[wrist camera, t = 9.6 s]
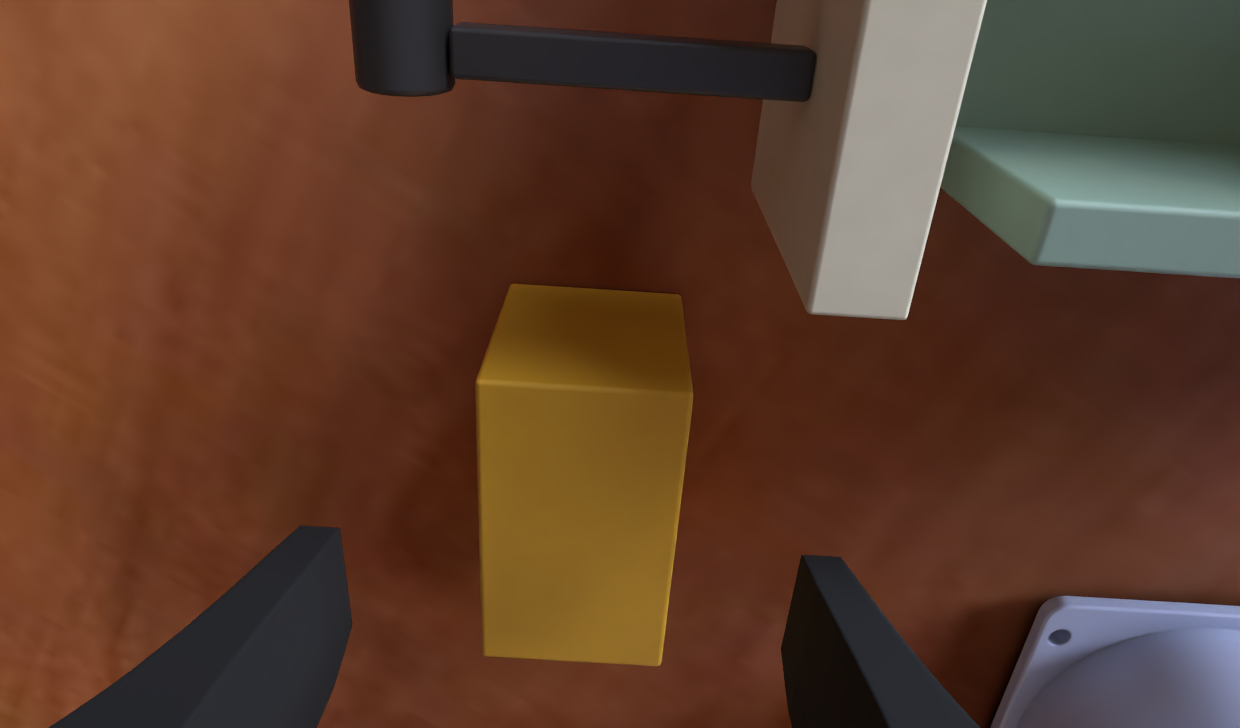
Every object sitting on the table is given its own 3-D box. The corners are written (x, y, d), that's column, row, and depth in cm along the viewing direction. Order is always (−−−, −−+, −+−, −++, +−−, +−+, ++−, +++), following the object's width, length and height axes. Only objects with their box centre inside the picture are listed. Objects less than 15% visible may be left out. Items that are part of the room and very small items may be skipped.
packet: (656, 530, 19) (661, 668, 15) (510, 521, 19) (481, 658, 15) (681, 292, 16) (694, 394, 12) (509, 281, 16) (473, 380, 12)
